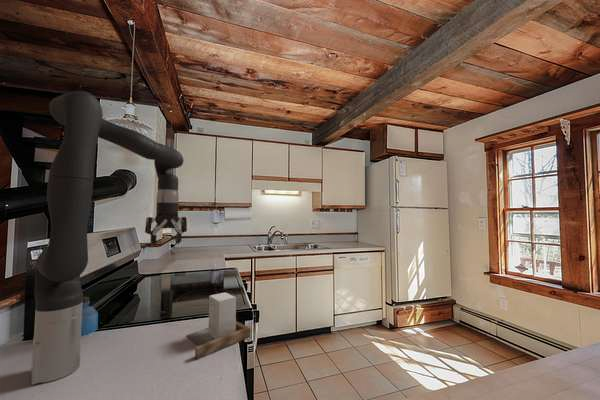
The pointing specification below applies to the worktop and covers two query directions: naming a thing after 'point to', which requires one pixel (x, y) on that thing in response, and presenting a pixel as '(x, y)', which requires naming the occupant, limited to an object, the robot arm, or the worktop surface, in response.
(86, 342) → the worktop surface
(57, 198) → the robot arm
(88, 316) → the perfume bottle
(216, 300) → the small box
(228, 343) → the wooden tray
